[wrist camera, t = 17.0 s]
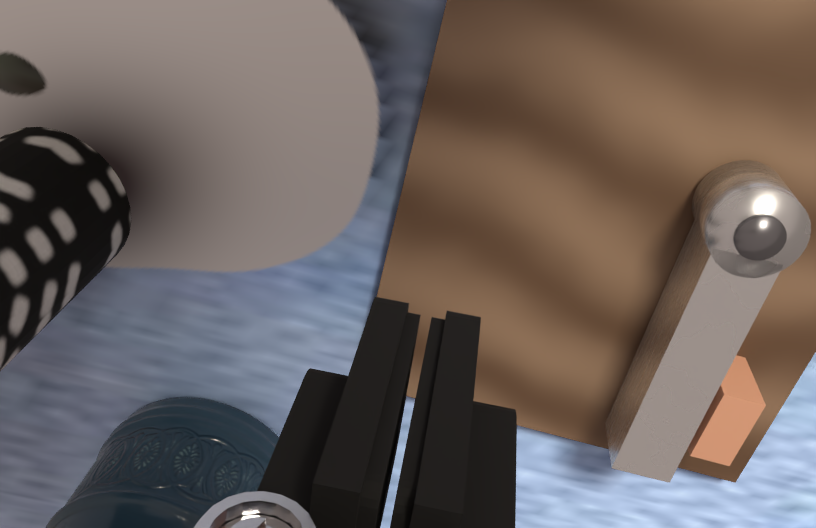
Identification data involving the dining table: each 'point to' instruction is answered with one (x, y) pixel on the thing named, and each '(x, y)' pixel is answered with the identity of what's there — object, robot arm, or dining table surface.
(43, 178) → the white-spotted black cylinder
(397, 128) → the dining table surface
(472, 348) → the robot arm
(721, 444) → the block
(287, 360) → the dining table surface
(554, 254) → the brown wooden board
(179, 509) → the canister
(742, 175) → the bar
